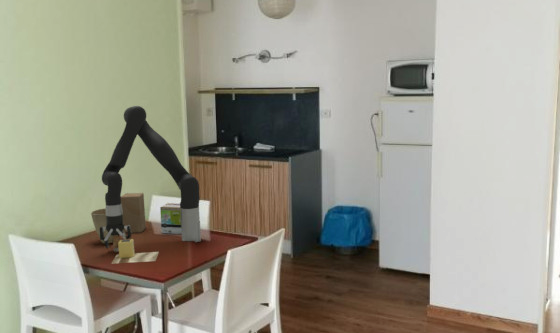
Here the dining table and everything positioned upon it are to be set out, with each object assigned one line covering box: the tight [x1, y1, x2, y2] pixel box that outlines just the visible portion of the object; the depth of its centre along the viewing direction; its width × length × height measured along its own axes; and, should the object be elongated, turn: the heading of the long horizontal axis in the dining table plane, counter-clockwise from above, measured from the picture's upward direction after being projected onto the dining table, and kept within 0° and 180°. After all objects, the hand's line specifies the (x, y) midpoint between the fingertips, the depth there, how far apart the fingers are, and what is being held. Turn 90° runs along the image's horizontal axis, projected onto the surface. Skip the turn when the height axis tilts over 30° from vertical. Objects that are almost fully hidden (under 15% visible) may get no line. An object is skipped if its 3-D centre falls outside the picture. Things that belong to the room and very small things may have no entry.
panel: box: [111, 251, 160, 265], centre depth 251 cm, size 19×14×1 cm
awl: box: [112, 235, 121, 253], centre depth 262 cm, size 3×3×9 cm
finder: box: [118, 238, 136, 258], centre depth 253 cm, size 6×5×7 cm
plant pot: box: [90, 207, 113, 244], centre depth 282 cm, size 15×15×16 cm
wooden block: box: [121, 192, 147, 234], centre depth 302 cm, size 10×10×20 cm
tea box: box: [159, 202, 182, 235], centre depth 298 cm, size 15×10×15 cm
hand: (116, 247), depth 262 cm, fingers open, 7 cm apart
